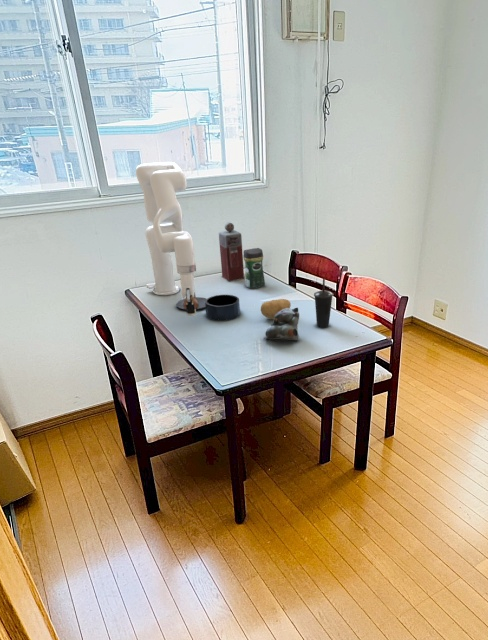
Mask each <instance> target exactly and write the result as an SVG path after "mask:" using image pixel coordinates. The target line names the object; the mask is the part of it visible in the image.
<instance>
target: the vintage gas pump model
mask: <svg viewBox="0 0 488 640" xmlns="http://www.w3.org/2000/svg"><path fill="white" fill-rule="evenodd" d="M242 237H243V236H242V233H241V232H240V231H237V230H235V225H234V224H233V223H232V222H230V221H229V222H226V223H225V224H224V230H223V231H218V242H219V243H218V244H219V254H220V255H219V256H220V265H221V277H222V278H223V279H225V280H226V281H228V282H233V281H239V280H243V279H244V280H245V269H244V258H243V255H244V252H243V240H242V239H243V238H242Z"/></svg>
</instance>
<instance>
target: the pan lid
mask: <svg viewBox="0 0 488 640" xmlns="http://www.w3.org/2000/svg"><path fill="white" fill-rule="evenodd" d="M194 298H196V300H197V301H198V307H197V308H196V311H199V310H202V309H206V306H205V300H206V299H207V298H206V297H201V296H200V297H199V296H196V291H195V292H194ZM184 300H185V298H182V299H180V300H178V301H177V302H176V305H175V306H176V308H177V309H179V310H181V311H182V310H183V311H187V309H185V308H184V305H183V302H184Z"/></svg>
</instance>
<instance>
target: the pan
mask: <svg viewBox="0 0 488 640" xmlns="http://www.w3.org/2000/svg"><path fill="white" fill-rule="evenodd" d="M240 304H241V303H240V298H239V297H238V296H236V295H233V294H216V295H213V296H209V297H207V298H206V300H205V306H206V308H205V313H206V318H208V319H210V320H211V321H216V322H217V321H218V322H224V321H225V322H227V321H232V320H235V319H237V318H239V317H240V315H241V305H240Z"/></svg>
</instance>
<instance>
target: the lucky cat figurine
mask: <svg viewBox="0 0 488 640" xmlns="http://www.w3.org/2000/svg"><path fill="white" fill-rule="evenodd" d="M299 319H300V312H299V307H294V308H291V307H290V308H286V309H282V310H281V311H280V312H278V313H277V314H276V315H275V316H274V319H273V321H272V324H271V325H270V326H269V327H268V328H267V329H266V331H265V332H264V333H265V334H264V335H265V336H264V337H263V340H264V339H265V340H266V341H267V340H287V341H295V342H297V341H298V340H299V338H300V336H299V335H300V334H299V329H298V324H299Z"/></svg>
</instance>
